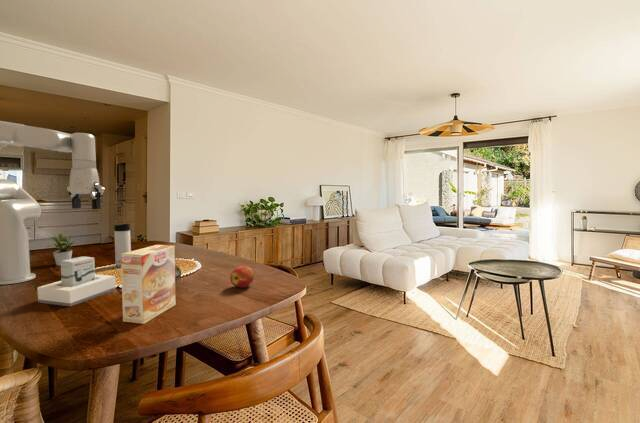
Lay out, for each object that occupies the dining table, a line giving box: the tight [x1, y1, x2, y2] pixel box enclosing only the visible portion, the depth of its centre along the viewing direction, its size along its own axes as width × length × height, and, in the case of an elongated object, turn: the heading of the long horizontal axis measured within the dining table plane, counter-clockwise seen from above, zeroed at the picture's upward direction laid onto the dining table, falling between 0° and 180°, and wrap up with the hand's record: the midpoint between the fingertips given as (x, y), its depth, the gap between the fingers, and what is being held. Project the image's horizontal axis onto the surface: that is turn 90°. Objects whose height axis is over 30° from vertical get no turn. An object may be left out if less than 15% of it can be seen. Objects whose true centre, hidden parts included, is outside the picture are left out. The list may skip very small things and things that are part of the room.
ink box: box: [60, 256, 96, 287], centre depth 110 cm, size 9×5×12 cm, turn 167°
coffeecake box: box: [120, 244, 177, 325], centre depth 97 cm, size 15×7×20 cm, turn 170°
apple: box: [229, 265, 255, 289], centre depth 123 cm, size 8×8×8 cm
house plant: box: [45, 231, 78, 267], centre depth 151 cm, size 14×14×16 cm
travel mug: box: [113, 223, 132, 268], centre depth 150 cm, size 6×7×20 cm
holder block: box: [36, 273, 117, 307], centre depth 111 cm, size 13×17×5 cm
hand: (86, 208), depth 129 cm, fingers open, 9 cm apart
